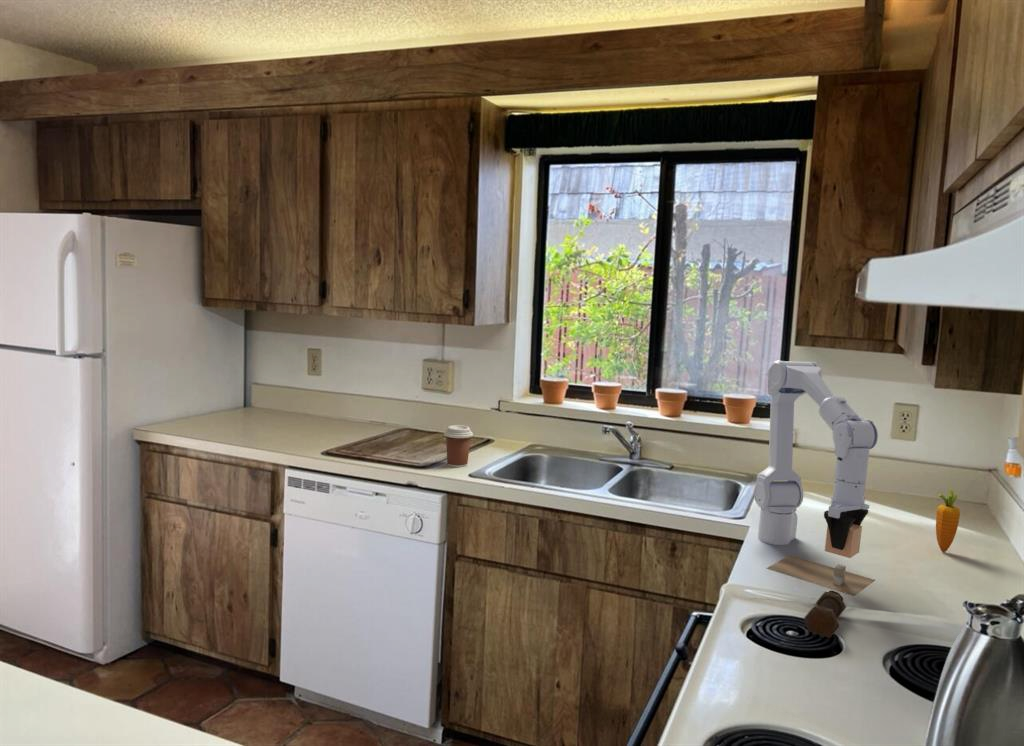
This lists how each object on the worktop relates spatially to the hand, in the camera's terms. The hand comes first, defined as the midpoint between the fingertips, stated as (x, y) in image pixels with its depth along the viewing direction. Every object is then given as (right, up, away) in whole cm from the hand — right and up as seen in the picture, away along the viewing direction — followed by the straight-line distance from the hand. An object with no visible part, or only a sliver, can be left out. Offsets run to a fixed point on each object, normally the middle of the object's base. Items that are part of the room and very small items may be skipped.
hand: (842, 545), depth 154 cm
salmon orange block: (0, -1, 0) cm, 1 cm away
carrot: (+36, -8, +27) cm, 46 cm away
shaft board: (-2, -9, +6) cm, 11 cm away
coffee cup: (-84, +6, +86) cm, 120 cm away
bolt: (-9, -11, -13) cm, 19 cm away
